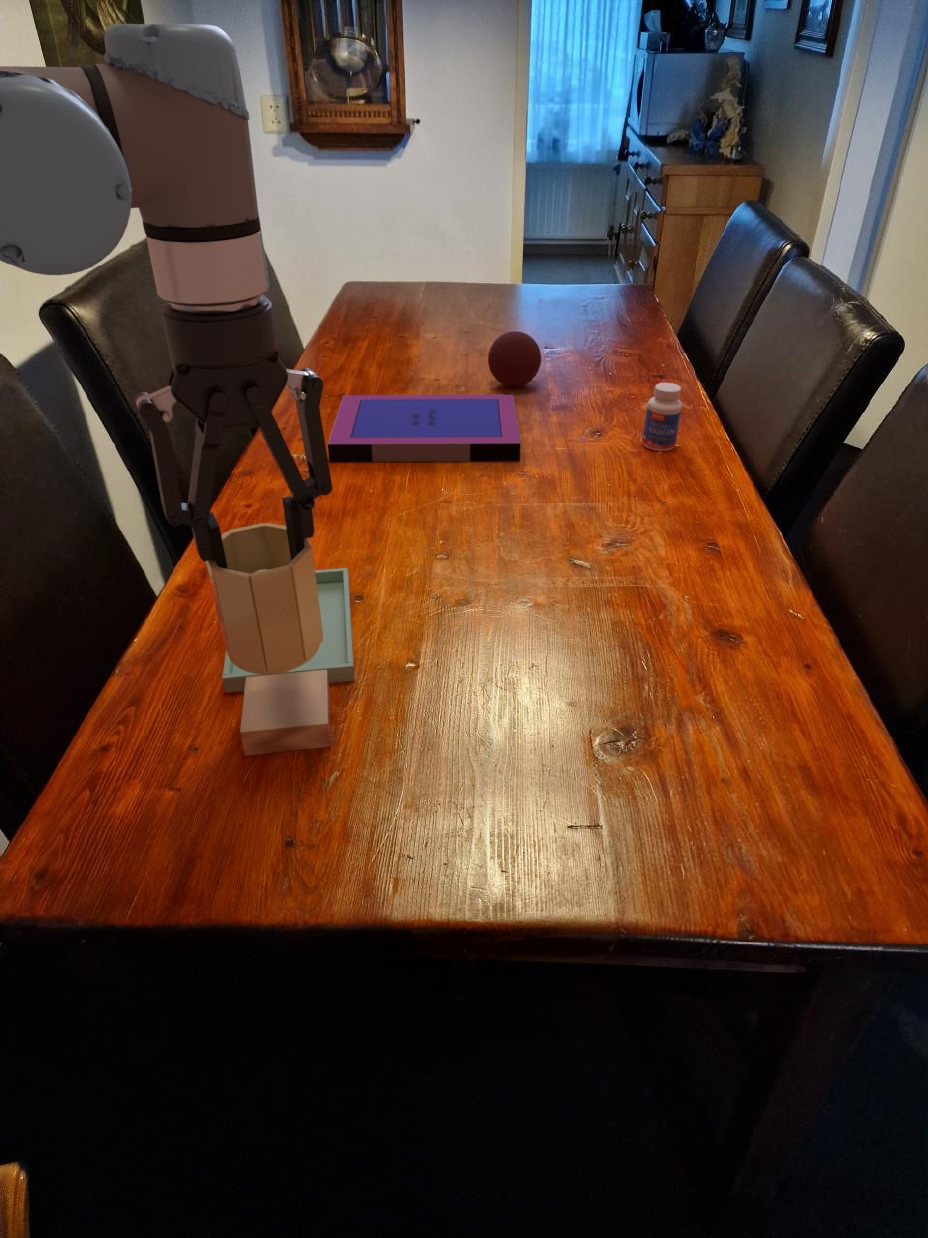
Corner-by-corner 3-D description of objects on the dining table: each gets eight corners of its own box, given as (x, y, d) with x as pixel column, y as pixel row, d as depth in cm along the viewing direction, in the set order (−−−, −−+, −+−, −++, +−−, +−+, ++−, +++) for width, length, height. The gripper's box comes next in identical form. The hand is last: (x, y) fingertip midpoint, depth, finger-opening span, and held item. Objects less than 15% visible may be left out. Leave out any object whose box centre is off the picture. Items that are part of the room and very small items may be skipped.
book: (520, 443, 127) (327, 444, 127) (519, 461, 128) (329, 461, 128) (513, 394, 144) (343, 395, 144) (513, 410, 145) (344, 411, 145)
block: (244, 756, 76) (239, 732, 74) (250, 699, 83) (245, 677, 81) (331, 747, 77) (327, 723, 75) (330, 692, 84) (327, 669, 82)
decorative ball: (540, 377, 160) (543, 324, 154) (539, 395, 152) (542, 341, 146) (489, 375, 160) (490, 323, 155) (485, 393, 152) (486, 339, 146)
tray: (355, 680, 85) (353, 665, 84) (225, 693, 83) (221, 678, 82) (349, 581, 100) (347, 567, 99) (239, 590, 99) (236, 576, 98)
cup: (239, 686, 70) (217, 585, 64) (218, 633, 76) (197, 536, 70) (333, 659, 73) (321, 560, 67) (306, 610, 79) (293, 516, 73)
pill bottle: (642, 451, 131) (650, 392, 126) (640, 437, 136) (648, 380, 130) (677, 452, 131) (687, 393, 125) (674, 439, 135) (683, 381, 129)
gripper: (328, 272, 63) (352, 535, 76) (66, 300, 56) (143, 583, 69) (362, 295, 57) (381, 574, 71) (75, 329, 50) (156, 630, 64)
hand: (263, 578), depth 70 cm, fingers closed on cup, 6 cm apart
